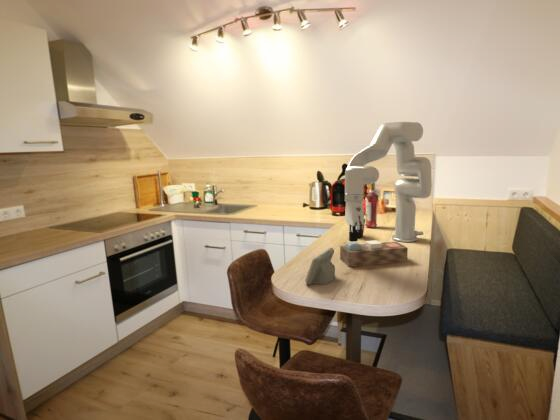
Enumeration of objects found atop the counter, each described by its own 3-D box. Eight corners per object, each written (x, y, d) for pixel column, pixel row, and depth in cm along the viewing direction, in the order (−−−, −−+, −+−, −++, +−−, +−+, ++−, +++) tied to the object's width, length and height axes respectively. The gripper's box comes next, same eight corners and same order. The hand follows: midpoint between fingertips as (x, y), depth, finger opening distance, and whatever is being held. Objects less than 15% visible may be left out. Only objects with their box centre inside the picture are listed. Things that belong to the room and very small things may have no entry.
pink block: (395, 251, 158) (395, 243, 158) (401, 255, 154) (401, 246, 153) (384, 252, 158) (384, 243, 157) (390, 256, 153) (390, 247, 152)
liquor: (362, 226, 218) (363, 180, 213) (374, 225, 219) (375, 179, 214) (368, 229, 211) (368, 181, 206) (379, 228, 212) (380, 180, 207)
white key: (376, 249, 157) (376, 240, 156) (381, 252, 152) (381, 243, 151) (365, 250, 156) (365, 241, 155) (370, 253, 151) (370, 244, 150)
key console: (395, 254, 161) (396, 241, 160) (407, 261, 152) (407, 247, 151) (340, 259, 157) (340, 245, 156) (348, 266, 147) (348, 252, 146)
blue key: (356, 250, 155) (356, 241, 154) (361, 254, 150) (361, 244, 149) (345, 251, 154) (345, 242, 154) (349, 255, 149) (349, 245, 149)
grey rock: (323, 270, 143) (323, 245, 141) (343, 275, 137) (343, 248, 136) (298, 282, 131) (297, 254, 130) (318, 289, 126) (318, 259, 124)
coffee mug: (355, 239, 189) (355, 220, 187) (345, 236, 196) (345, 218, 194) (372, 236, 194) (373, 218, 192) (362, 233, 201) (362, 215, 200)
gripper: (370, 199, 141) (369, 245, 145) (355, 195, 156) (355, 236, 159) (352, 200, 140) (351, 246, 143) (339, 195, 155) (338, 237, 158)
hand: (353, 240), depth 151 cm, fingers closed
